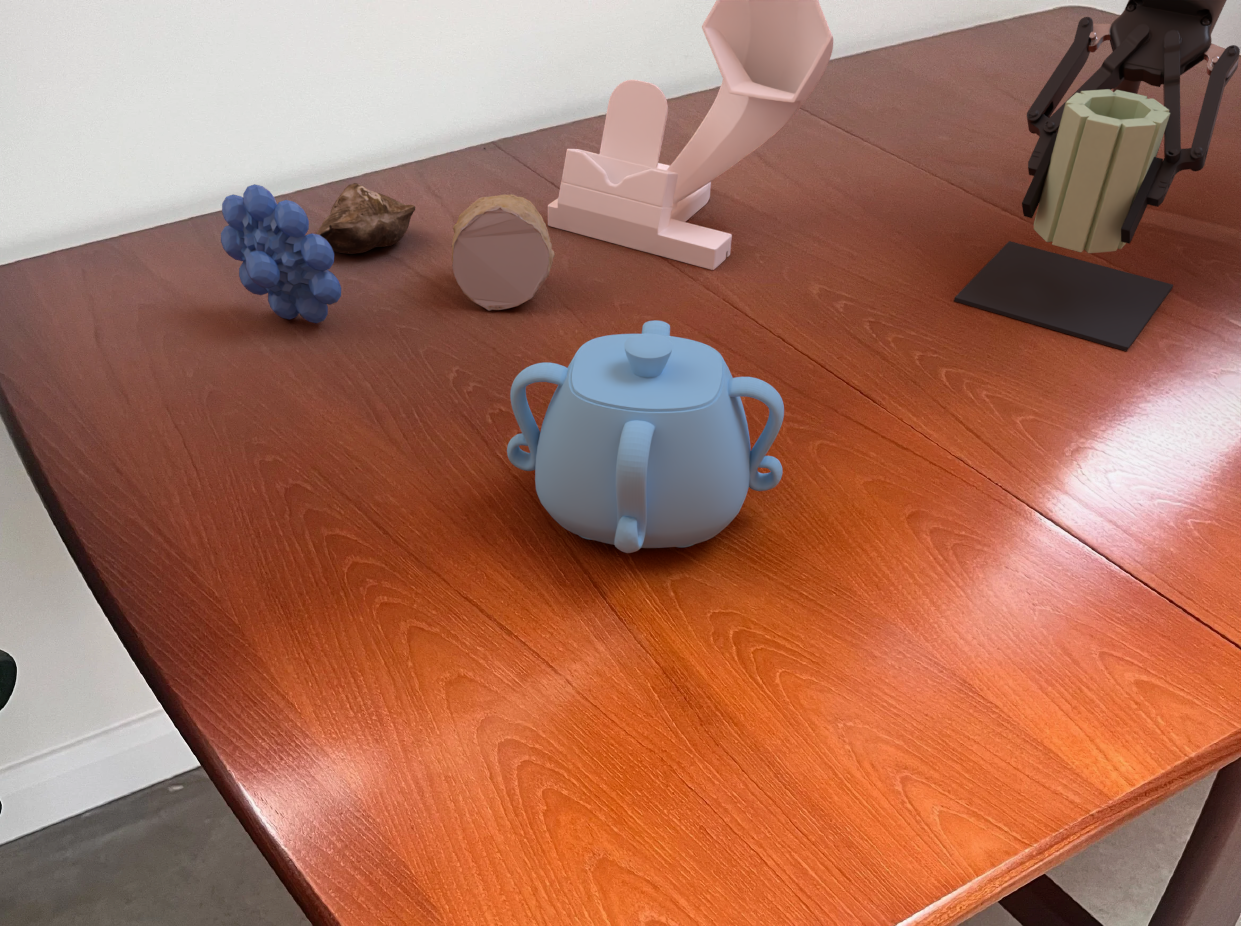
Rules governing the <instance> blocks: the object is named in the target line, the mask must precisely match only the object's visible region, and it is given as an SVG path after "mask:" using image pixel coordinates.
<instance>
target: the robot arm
mask: <svg viewBox="0 0 1241 926" xmlns="http://www.w3.org/2000/svg"><path fill="white" fill-rule="evenodd" d="M1227 1H1228V0H1128V1H1127V3H1126V5H1125V7H1124V10H1123V11H1122V13H1120V14H1119V16H1118V17H1117V18H1115V19H1114V20H1113V21H1112V23H1095V22H1094V20H1093V18H1092V17H1090V16H1084V17H1082V18H1081V19H1080V20H1079V21H1078V23H1077V26H1076V27H1077V28H1076V30H1075V31H1076V32H1075V34H1074V39H1073V42H1072V44H1071V45H1070V46H1069V48H1068V50H1067V51H1066V52H1065V54H1064V56H1063V57H1062V58H1061V60H1060V62H1059V63H1058V65H1057V66H1056V68H1055V69H1054V71H1053V72H1052V74H1051V76H1049V78H1048V79H1047V81H1046V83H1045V84H1044V86H1043V88H1042V89H1041V91H1040V92H1039V94H1038V95H1037V97H1036V98H1035V99H1034V101H1033V103H1032V105H1031V106H1030V107H1029V109H1028V110H1027V112H1026V121H1027V128H1028V131H1029V133H1031V134H1034V135H1035V134H1036V136H1038V139H1037V142H1036V143H1035V146H1034V148H1033V150H1032V153H1031V155H1030V157H1029V159H1028V161H1027V170H1028V175H1029V176H1031V177H1032V179H1031V181H1030V184H1029V185H1028V189H1027V190H1026V193H1025V195H1024V197H1023V199H1022V201H1021V207H1022V213H1023V217H1024V218H1025V217H1026V218H1029V219H1033V217H1034V215H1035V213H1036V212H1037V210H1038V206H1039V202H1040V199H1041V195H1042V191H1043V187H1044V183H1045V180H1046V176H1047V172H1048V168H1049V165H1050V161H1051V157H1052V153H1053V149H1054V145H1055V141H1056V138H1057V134H1058V130H1059V126H1060V123H1061V119H1062V115H1063V111H1064V107H1065V104H1066V102H1067V101H1068V100H1069V99H1070V98H1071V97H1072V96H1073V95H1074V94H1075V93H1081V91H1090V90H1105V89H1110V90H1111V91H1112V90H1113V89H1115V88H1116V87H1117V86H1118V85H1119V84H1120V83H1121V82H1122V81H1123V80H1128V81H1133V82H1134V81H1141V82H1143V83H1146V84H1148V85H1149V86H1153V87H1156V88H1157V87H1158V88H1161V86H1162V87H1163V91H1162V93H1163V97H1162V99H1163V106H1164V107H1166V108H1167V109H1169V113H1170V116H1169V119H1168V122H1167V125H1166V128H1165V132H1164V135H1163V158H1161V157H1157V156H1156V157H1154V158H1153V160H1152V163H1151V165H1150V167H1149V169H1148V171H1147V173H1146V176H1145V178H1144V180H1143V182H1142V184H1141V186H1140V188H1139V190H1138V193H1137V195H1136V197H1135V199H1134V201H1133V204H1132V206H1131V208H1130V210H1129V212H1128V214H1127V217H1126V219H1125V221H1124V223H1123V225H1122V228H1121V242H1124V243H1126V244H1128V245H1130V244H1131V242H1132V241H1133V238H1134V235H1135V233H1136V231H1137V229H1138V227H1139V225H1140V223H1141V221H1142V218H1143V216H1144V214H1145V211H1146V210H1147V207H1148V206H1152V207H1157V208H1158V207H1160V206H1161V205H1162V204H1163V202H1164V200H1165V198H1166V196H1167V194H1168V192H1169V190H1170V188H1171V186H1172V183H1173V181H1174V179H1175V176H1176V175H1177V174H1178V173H1179V172H1182V171H1186V170H1187V171H1188V170H1190V171H1192V172H1199V171H1202V170H1203V168H1204V167H1205V165H1206V160H1207V157H1208V153H1209V149H1210V146H1211V141H1212V137H1213V133H1214V130H1215V126H1216V122H1217V118H1218V115H1219V111H1220V106H1221V102H1222V98H1223V94H1224V91H1225V87H1226V86H1227V84H1228V83H1229V82H1230V81H1231V79H1232V77H1233V76H1234V75H1235V74H1236V71H1238V67H1239V60H1240V53H1241V49H1240V47H1239V46H1238V45H1235V44H1232V45H1228V46H1226V47H1223V46H1220V45H1217V44H1215V43H1212V41H1213V39H1212V33H1213V31H1214V29H1215V27H1216V25H1217V22H1218V20H1219V19H1220V16H1221V14H1222V11H1223V9H1224V7H1225V5H1226V2H1227ZM1107 41H1109V43H1110V47H1111V51H1112V52H1111V53H1110V54H1109V55H1108V56H1107V57H1105V59H1104V61H1103V62H1102V64H1101V65H1100V67H1099V68H1098V69H1096V71H1095V72H1094V73H1093V74H1092V75H1091V76H1090V77H1089V78H1088V79H1087V80H1086V81H1085V82H1084V83H1082V85H1081V86H1080V87H1079V88H1078V89H1077V90H1076V91H1075V92H1074V93H1072V95H1071V96H1070V97H1069V98H1067V100H1066V101H1065V102H1063V104H1062V105H1060V106H1059V104H1060V103H1061V101H1062V100H1063V98H1064V97H1065V96H1066V93H1067V92H1068V91H1069V89H1070V87H1071V86H1072V84H1073V83H1074V82H1075V80H1076V78H1077V77H1078V76H1079V74H1080V73H1081V71H1082V69H1083V68H1084V67H1085V65H1086V63H1087V61H1088V59H1089V56H1090V53H1095V52H1097V50H1099V48H1100V46H1101V45H1102V43H1104V42H1107ZM1203 61H1206V63H1207V64H1206V74H1207V75H1208V76H1209V78H1208V82H1207V85H1206V89H1205V93H1204V97H1203V101H1202V104H1201V109H1200V112H1199V116H1198V119H1197V124H1196V128H1195V132H1194V135H1193V139H1192V143H1191V147H1186V148H1182V139H1181V138H1182V137H1181V135H1182V132H1181V127H1182V126H1181V76H1183V75H1184V74H1185V73H1187V72H1189V70H1191V69H1192V68H1195V66H1197V65H1198V64H1200V63H1201V62H1203ZM1058 106H1059V108H1058V109H1057V107H1058Z"/></svg>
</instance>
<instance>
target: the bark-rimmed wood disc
mask: <svg viewBox="0 0 1241 926" xmlns="http://www.w3.org/2000/svg"><path fill="white" fill-rule="evenodd" d="M452 230H453V233H454V235H453V237H452V245H451V267H452V272H453V276H454V278H455V281H456V283H457V284H458V286H459V287H460V288H459V289H460V290H461V292H462V294H464V296H466V297H467V298H468V299H469V300H470V301H472V302H473V303H474V304H475V305H478V306H480V307H482V308H484V309H485V310H487V311H489V312H490V311H501V310H507V309H512V308H515V307H519V306H520V305H522V304H523V303H526V302H527V301H529V300H532V299H533V298H534V297H535V296H536V294H537V292H538V291H539V289H540V288H541V287H542V286H543V284H544V283H545V282H546V281H547V279H548V278H549V277H550V272H551V269H552V266H553V261H554V258H555V251H554V250H553V249H552V247H553V244H552V242H551V237H550V233H549V229H548V227H547V223H546V222H545V220H544V218H543V216H542V215H541V213H540V212H539V210H538V209H537V207H536V206H535V205H534V204H533V203H532V202H531V201H530V200H529V199H526V197H523V196H517V195H515V194H512V193H509V194H499V195H492V196H481V197H479V198H477V199H476V200H475V201H473V202H472V203H471V204H470V205H469V206H468V207H467V208H466V209H465V210H463V211H462V212H461V213H460V214H459V215H458V219H457V221H456V223H455V224H454V225H453V226H452Z"/></svg>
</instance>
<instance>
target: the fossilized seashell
mask: <svg viewBox="0 0 1241 926" xmlns="http://www.w3.org/2000/svg"><path fill="white" fill-rule="evenodd" d="M415 211H416V206H415V205H413V204H405V203H403V202H400V201H398V200H396V199H394V198H393V197H390V196H388V195H385V194H382V193H379V192H377V191H373V190H370V189H368V188H366V187H365V186H363V185H361V184H359V183H357V182H353V183H350V184H348V185H347V186H346V187H345V188H344V189H343V191H342V192H341V193H340V194H339V196H338V197H337V198H336V200H335V201H334V203H333V205H332V207H331V209H330V212H329V215H327V216H326V218H324V219H323V221H322V224H321V225H320V226H319V228H318V229H317V231H316V233H315V234H317V235H320V236H322V237H323V238H325V239H326V240H327V241H328V243H329V244H330V245H331V247H332V249H333V252H336V253H339V254H349V255H353V254H362V253H366V252H369V251H371V250H373V249H375V248H385V247H392V246H393V245H395V244H396V243H397V242H400V241H401V239H403V237H404V236H405V234H406V232H407V231H408V229H409V226H410V222H411V218H412V216H413V214H414V213H415Z"/></svg>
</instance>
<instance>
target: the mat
mask: <svg viewBox="0 0 1241 926" xmlns="http://www.w3.org/2000/svg"><path fill="white" fill-rule="evenodd" d="M1173 288H1174V284H1173V283H1169V282H1166V281H1161V280H1158V279H1154V278H1149V277H1146V276H1142V275H1138V274H1136V273H1132V272H1128V271H1124V270H1120V269H1116V268H1113V267H1109V266H1105V265H1101V264H1097V263H1094V262H1089V261H1086V260H1083V259H1078V258H1075V257H1072V256H1067V255H1064V254H1059V253H1056V252H1053V251H1048V250H1044V249H1041V248H1037V247H1034V246H1030V245H1026V244H1022V243H1019V242H1015V241H1011V240H1009V241H1008V242H1006V244H1005V245H1003V247H1002V248H1000V250H999V251H998V252H997V253H996V254H995V255H994V256H993V257H992V258H991V259H990V260H989V261H988V262H987V263H986V264H985V265H984V266H983V267H982V268H981V269H980V270H979V271H978V272H977V273H976V275H974V277H973V278H972V279H970V281H969V282H968V283H967V284H966V285H965V286H964V287H963V288H962V289H961V290H960V291H959V292H958V293H957V294H956V295H955V296H954V298H953V302H955V303H959V304H963V305H966V306H969V307H973V308H977V309H979V310H983V311H987V312H989V313H993V314H996V315H999V316H1003V317H1008V318H1011V319H1014V320H1017V321H1021V322H1025V323H1027V324H1032V325H1034V326H1037V327H1042V328H1045V329H1049V330H1052V331H1055V332H1059V333H1062V334H1065V335H1069V336H1072V337H1075V338H1078V339H1083V340H1085V341H1086V340H1087V341H1089V342H1093V343H1097V344H1100V345H1104V346H1107V347H1111V348H1114V349H1117V350H1120V351H1124V352H1128V351H1129V349H1130V348H1131V347H1132V345H1133V344H1134V342H1135V341H1136V339H1137V338H1138V337H1139V336H1140V334H1141V333H1142V331H1143V330H1144V328H1145V327H1146V326H1147V325H1148V323H1149V322H1150V320H1151V319H1152V317H1153V316H1154V315H1155V313H1156V312H1157V311H1158V309H1159V308H1160V306H1161V305H1162V304H1163V303H1164V301H1165V299H1166V298H1167V297H1168V295H1169V294H1170V293H1171V291H1172V290H1173Z"/></svg>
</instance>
